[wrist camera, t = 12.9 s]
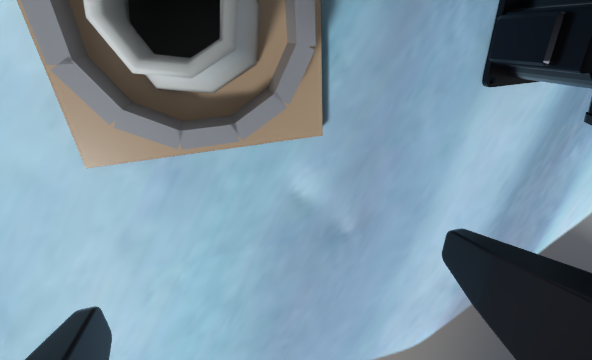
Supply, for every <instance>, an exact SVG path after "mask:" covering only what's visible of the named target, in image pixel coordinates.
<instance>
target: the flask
mask: <svg viewBox="0 0 592 360" xmlns="http://www.w3.org/2000/svg"><path fill="white" fill-rule="evenodd" d="M83 1H84V8H85V14H86V18H87V19H88V20H89V22H90V23H91V24H92V25H93V26H94V28H95V29H96V30H97V31H98V32H99V34H100V35H101V36H102V37H103V38H104V40H105V41H106V42H107V43H108V44H109V46H110V47H111V48H112V49H113V50H114V51H115V53H116V54H117V55H118V56H119V57H120V59H121V60H122V61H123V62H124V63H125V65H126V66H127V67H128V68H129V69H130V71H131V72H132V73H136V74H145V75H146V76H147V78H148V79H149V80H150V81H151V83H152V84H153V85H154V86H155V88H156V89H163V90H176V91H188V92H201V93H215V92H216V91H218V90H219V89H221V88H222V87H224V86H225V85H227V84H228V83H230V82H231V81H233V80H234V79H236V78H237V77H239V76H240V75H242V74H244V73H245V72H247V71H248V70H250V69H251V68H253V67H254V66H256V65H257V49H258V33H259V17H260V4H259V2H258V0H83Z"/></svg>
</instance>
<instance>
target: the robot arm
mask: <svg viewBox="0 0 592 360" xmlns="http://www.w3.org/2000/svg"><path fill="white" fill-rule="evenodd" d="M490 79H491V80H490ZM540 81H541V82H549V83H556V84H563V85H570V86H577V87H584V88H591V89H592V0H500V3H499V8H498V12H497V17H496V21H495V26H494V30H493V35H492V39H491V44H490V48H489V53H488V57H487V62H486V66H485V71H484V75H483V80H482V83H483V85H484V86H486V87H497V86H506V85H514V84H523V83H531V82H540ZM584 122H586V123H588V124H590V125H592V98H591V102H590V106H589V110H588V112H586V115H585V119H584ZM442 258H443V261H444V263H445V264H446V266H447V267H448V269H449V270H450V272H451V273H452V275H453V276H454V278H455V279H456V281H457V282H458V284H459V285H460V287H461V288H462V290H463V291H464V293H465V294H466V296H467V297H468V299H469V300H470V302H471V303H472V304H473V306H474V307H475V309H476V310H477V311H478V313H479V314H480V315H481V317H482V318H483V319H484V320H485V322H486V323H487V324H488V325H489V327H490V328H491V329H492V330H493V332H494V333H495V334H496V335H497V337H498V338H499V339H500V340H501V341H502V343H503V344H504V345H505V347H506V348H507V349H508V350H509V352H510V353H511V354H512V355H513V357H514V358H515V359H516V360H592V273H590V272H587V271H585V270H582V269H579V268H576V267H573V266H570V265H567V264H564V263H561V262H558V261H555V260H553V259H550V258H547V257H544V256H541V255H538V254H535V253H532V252H530V251H527V250H524V249H521V248H518V247H515V246H512V245H509V244H506V243H503V242H501V241H498V240H495V239H492V238H489V237H486V236H483V235H480V234H477V233H474V232H472V231H469V230H466V229H456V230H451V231H449V232H448V233H447V235H446V238H445V242H444V246H443V250H442ZM111 342H112V334H111V330H110V328H109V326H108V323H107V321H106V319H105V317H104V315H103V312H102V310H101V309H100V308H99V307H90V308H86V309H81V310H78V311H76V312H74V313H73V314H72V315H71V316H70V317H69V318H68V319H67V320H66V321H65V322H64V323H63V324H62V325H60V326H59V327H58V328H57V329H56V330H55V331H54V332H53V333H52V334H51V335H50V336H49V337H48V338H47V339H46V340H45V341H44V342H43V343H42V344H41V345H40V346H39V347H38V348H36V349H35V350H34V351H33V352H32V353H31V354H30V355H29V356H28V357H27V358H26V359H25V360H109V356H110V349H111Z"/></svg>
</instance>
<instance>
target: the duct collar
mask: <svg viewBox="0 0 592 360" xmlns="http://www.w3.org/2000/svg"><path fill="white" fill-rule="evenodd" d="M17 2H18V5H19V7H20V9H21V12H22V14H23V17H24V19H25V22H26V24H27V26H28V29H29V31H30V34H31V36H32V39H33V41H34V43H35V46H36V48H37V51H38V53H39V56H40V58H41V60H42V63H43V65H44V68H45V70H46V73H47V75H48V77H49V80H50V82H51V85H52V87H53V90H54V92H55V94H56V97H57V99H58V102H59V104H60V107H61V109H62V111H63V114H64V116H65V119H66V121H67V124H68V126H69V128H70V131H71V133H72V136H73V138H74V141H75V143H76V145H77V148H78V150H79V153H80V155H81V158H82V160H83V163H84V165H85V167H86V168H92V167H99V166H106V165H113V164H121V163H128V162H135V161H142V160H149V159H157V158H164V157H171V156H178V155H185V154H192V153H200V152H207V151H214V150H221V149H228V148H236V147H243V146H250V145H257V144H264V143H271V142H279V141H286V140H293V139H300V138H307V137H315V136H322V135H323V132H322V57H321V0H258V2H259V4H260V17H259V33H258V49H257V65H256V66H254V67H253V68H251V69H250V70H248V71H247V72H245V73H244V74H242V75H240V76H239V77H237V78H236V79H234V80H233V81H231V82H230V83H228V84H227V85H225V86H224V87H222V88H221V89H219V90H218V91H216V92H215V93H201V92H188V91H176V90H163V89H156V88H155V86H154V85H153V84H152V83H151V81H150V80H149V79H148V78H147V76H146V75H145V74H136V73H132V72H131V71H130V69H129V68H128V67H127V66H126V65H125V63H124V62H123V61H122V60H121V59H120V57H119V56H118V55H117V54H116V53H115V51H114V50H113V49H112V48H111V47H110V46H109V44H108V43H107V42H106V41H105V40H104V38H103V37H102V36H101V35H100V34H99V32H98V31H97V30H96V29H95V28H94V26H93V25H92V24H91V23H90V22H89V20H88V19H87V18H86V14H85V8H84V1H83V0H17Z"/></svg>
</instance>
